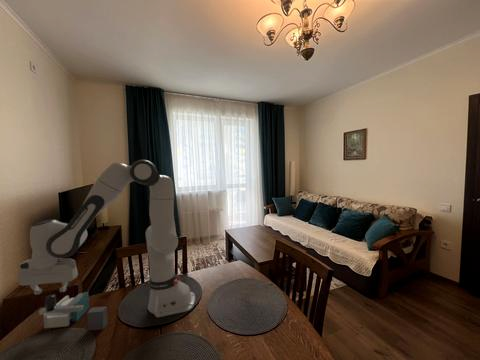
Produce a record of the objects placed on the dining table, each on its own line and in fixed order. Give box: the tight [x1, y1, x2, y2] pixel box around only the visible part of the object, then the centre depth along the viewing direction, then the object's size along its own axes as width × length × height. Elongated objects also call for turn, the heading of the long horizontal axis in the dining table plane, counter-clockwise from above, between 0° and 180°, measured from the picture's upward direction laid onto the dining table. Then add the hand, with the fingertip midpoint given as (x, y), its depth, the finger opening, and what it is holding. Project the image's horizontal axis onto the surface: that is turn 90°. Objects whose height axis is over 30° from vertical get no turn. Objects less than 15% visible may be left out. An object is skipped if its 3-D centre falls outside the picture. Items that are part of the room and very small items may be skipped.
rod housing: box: [86, 306, 109, 332], centre depth 89 cm, size 6×3×8 cm, turn 96°
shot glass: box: [59, 296, 76, 321], centre depth 96 cm, size 7×7×7 cm
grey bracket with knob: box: [38, 291, 90, 323], centre depth 93 cm, size 16×15×15 cm
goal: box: [42, 295, 71, 329], centre depth 96 cm, size 9×13×6 cm
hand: (50, 292), depth 87 cm, fingers open, 8 cm apart
